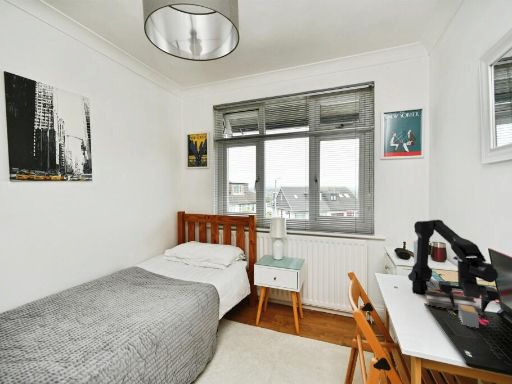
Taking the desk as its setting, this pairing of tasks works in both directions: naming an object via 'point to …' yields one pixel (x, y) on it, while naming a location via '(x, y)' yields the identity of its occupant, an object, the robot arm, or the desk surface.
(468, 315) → the module
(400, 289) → the desk surface
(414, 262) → the flask
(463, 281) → the robot arm
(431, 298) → the rail board
